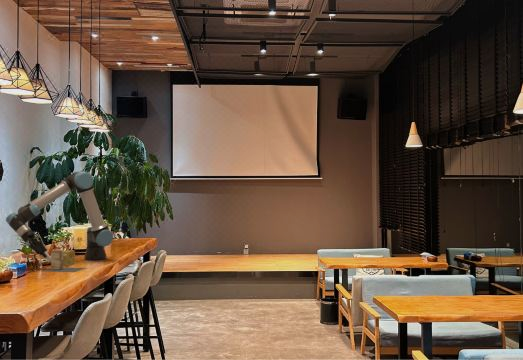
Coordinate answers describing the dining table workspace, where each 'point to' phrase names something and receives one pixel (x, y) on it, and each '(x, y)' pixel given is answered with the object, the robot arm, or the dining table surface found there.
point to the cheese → (68, 257)
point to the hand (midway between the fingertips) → (50, 260)
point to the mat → (65, 270)
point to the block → (56, 259)
